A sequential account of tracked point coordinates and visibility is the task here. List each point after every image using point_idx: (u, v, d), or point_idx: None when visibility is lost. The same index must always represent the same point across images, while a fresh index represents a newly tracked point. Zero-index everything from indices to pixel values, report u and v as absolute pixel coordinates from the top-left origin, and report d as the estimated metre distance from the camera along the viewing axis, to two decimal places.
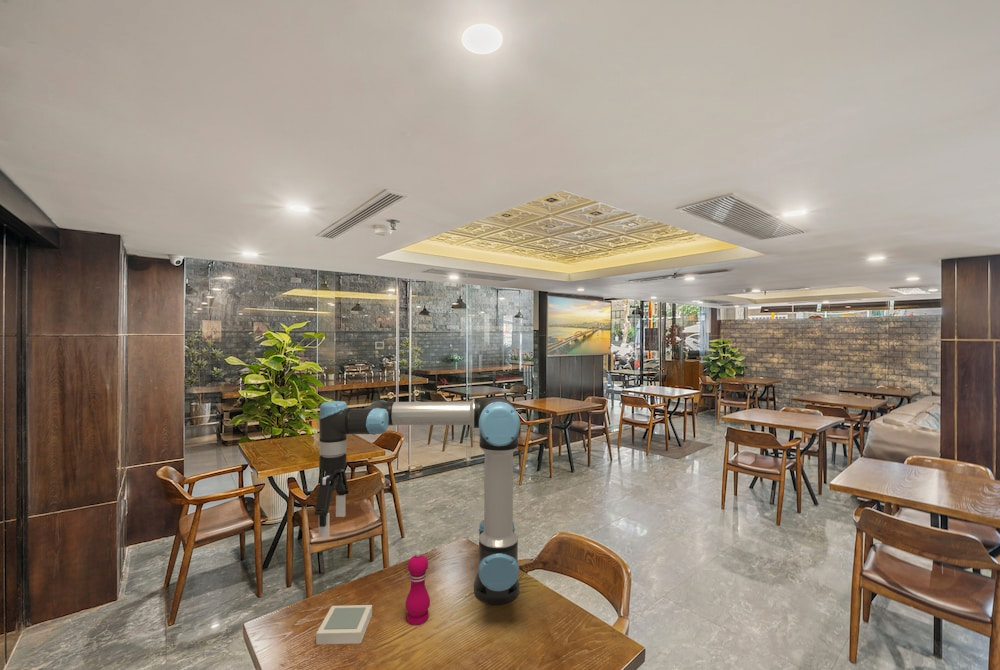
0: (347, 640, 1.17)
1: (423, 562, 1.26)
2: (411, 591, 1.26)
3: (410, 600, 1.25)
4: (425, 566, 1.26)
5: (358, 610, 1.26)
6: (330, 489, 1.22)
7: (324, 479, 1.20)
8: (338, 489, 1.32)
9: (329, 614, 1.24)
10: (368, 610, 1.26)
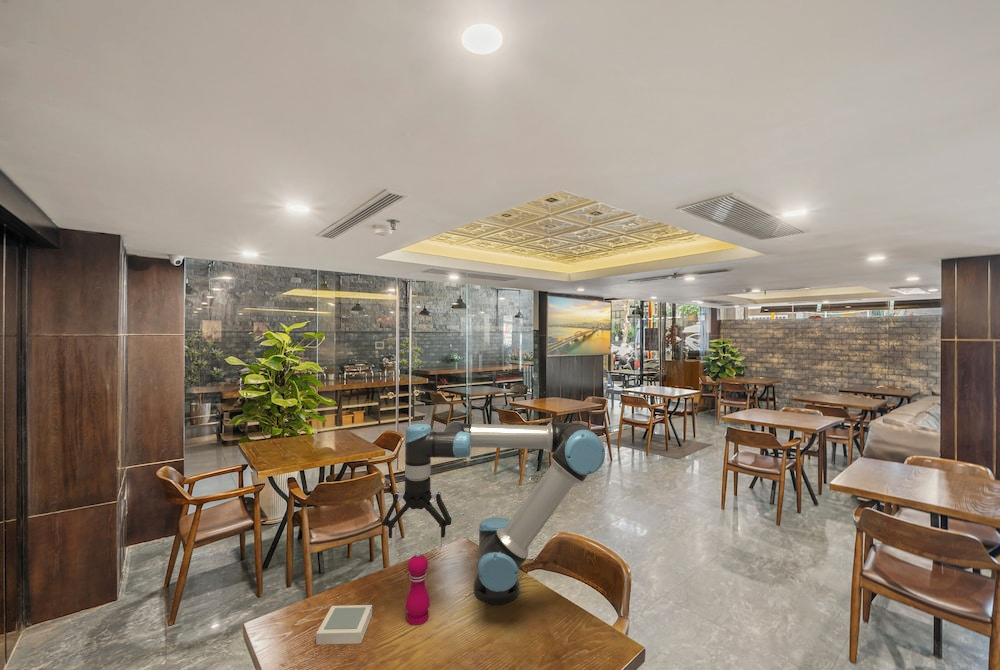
0: (347, 640, 1.17)
1: (423, 562, 1.26)
2: (411, 591, 1.26)
3: (410, 600, 1.25)
4: (425, 566, 1.26)
5: (358, 610, 1.26)
6: (402, 508, 1.27)
7: None
8: None
9: (329, 614, 1.24)
10: (368, 610, 1.26)
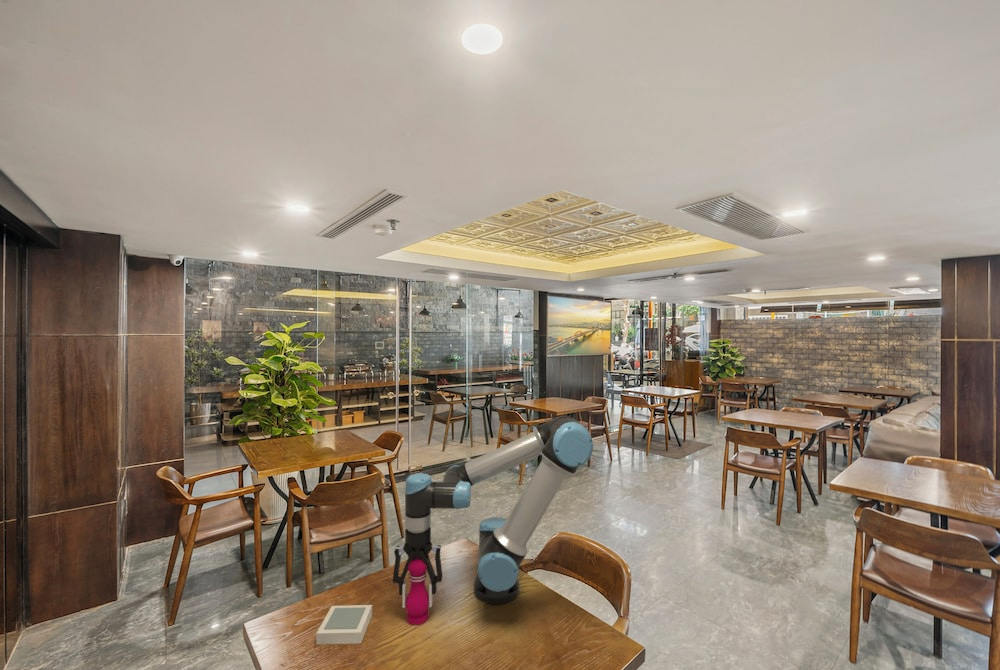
0: (347, 640, 1.17)
1: None
2: (411, 591, 1.26)
3: (410, 600, 1.25)
4: (425, 566, 1.26)
5: (358, 610, 1.26)
6: (406, 562, 1.27)
7: None
8: None
9: (329, 614, 1.24)
10: (368, 610, 1.26)
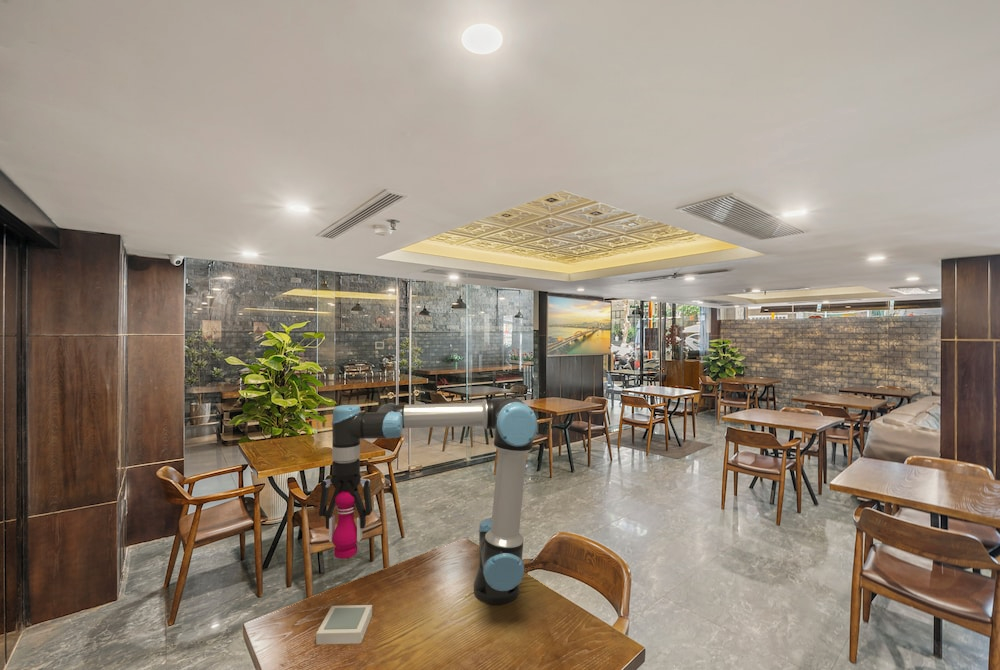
0: (347, 640, 1.17)
1: (350, 494, 1.21)
2: (338, 524, 1.21)
3: (336, 533, 1.20)
4: (353, 498, 1.21)
5: (358, 610, 1.26)
6: None
7: None
8: None
9: (329, 614, 1.24)
10: (368, 610, 1.26)
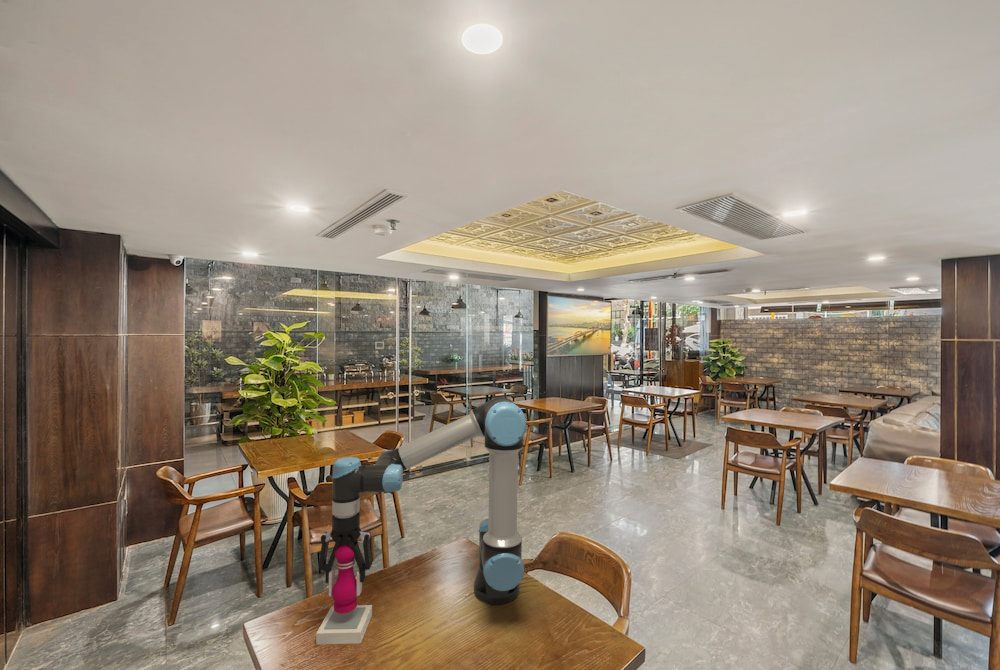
0: (347, 640, 1.17)
1: None
2: (338, 579, 1.21)
3: (336, 588, 1.20)
4: (352, 553, 1.21)
5: (358, 610, 1.26)
6: None
7: None
8: None
9: (329, 614, 1.24)
10: (368, 610, 1.26)
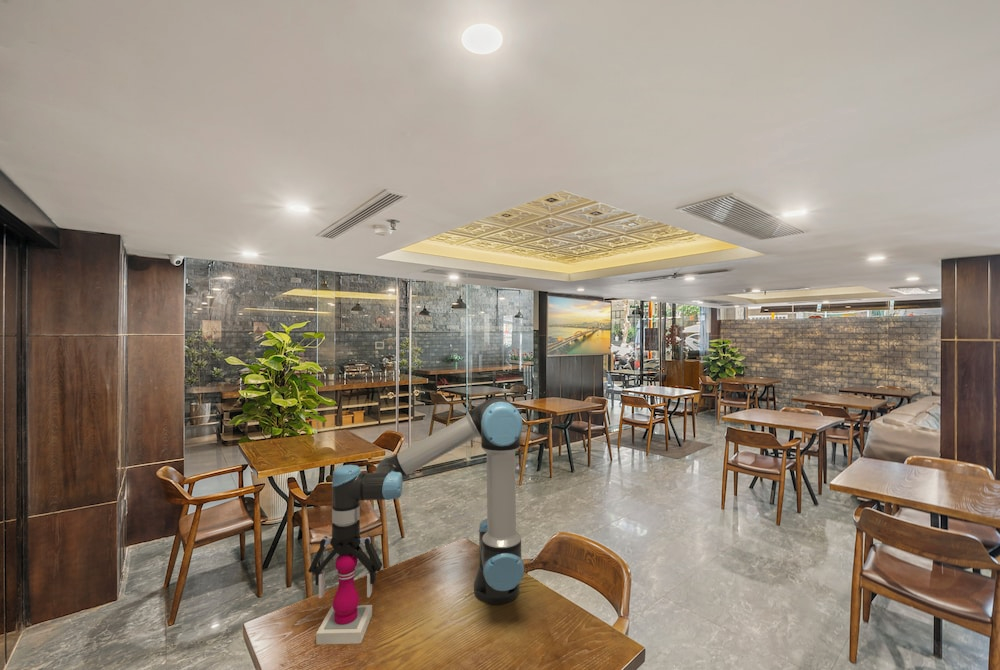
0: (347, 640, 1.17)
1: (351, 559, 1.21)
2: (338, 589, 1.21)
3: (337, 599, 1.20)
4: (353, 563, 1.21)
5: (358, 610, 1.26)
6: (330, 553, 1.22)
7: None
8: None
9: (329, 614, 1.24)
10: (368, 610, 1.26)
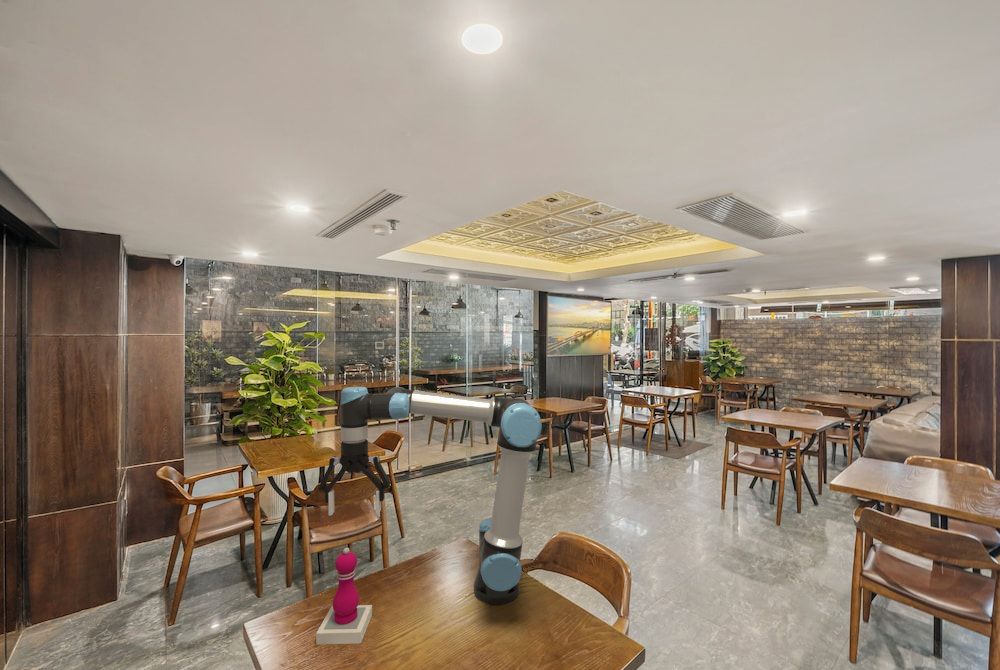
0: (347, 640, 1.17)
1: (350, 559, 1.21)
2: (338, 589, 1.21)
3: (336, 599, 1.20)
4: (353, 563, 1.21)
5: (358, 610, 1.26)
6: (339, 472, 1.24)
7: None
8: None
9: (329, 614, 1.24)
10: (368, 610, 1.26)
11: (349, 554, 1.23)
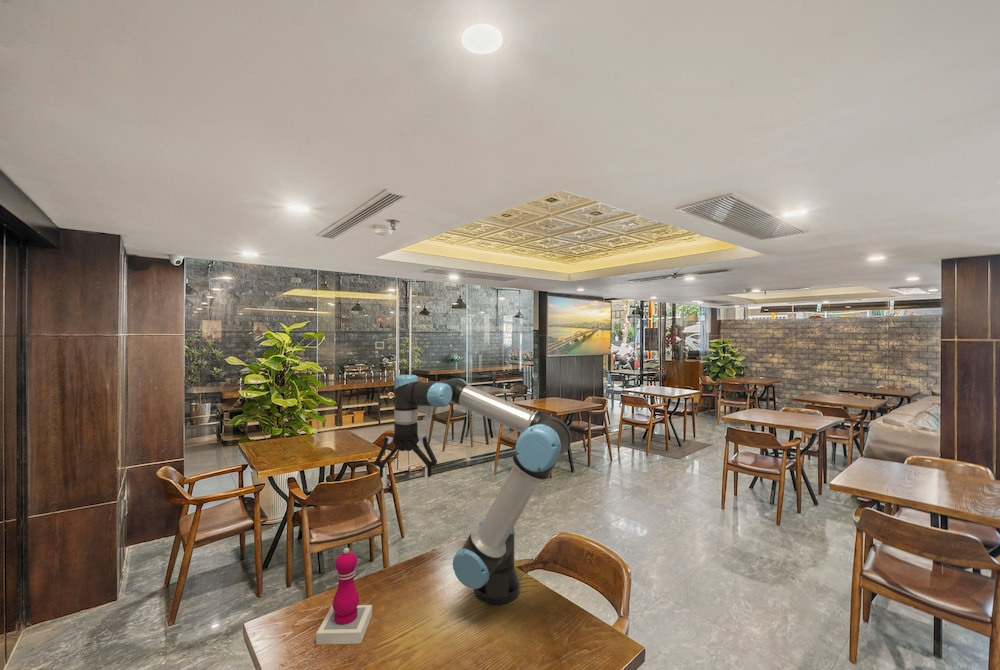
0: (347, 640, 1.17)
1: (350, 559, 1.21)
2: (338, 589, 1.21)
3: (336, 599, 1.20)
4: (353, 563, 1.21)
5: (358, 610, 1.26)
6: (392, 450, 1.39)
7: None
8: None
9: (329, 614, 1.24)
10: (368, 610, 1.26)
11: (349, 554, 1.22)
